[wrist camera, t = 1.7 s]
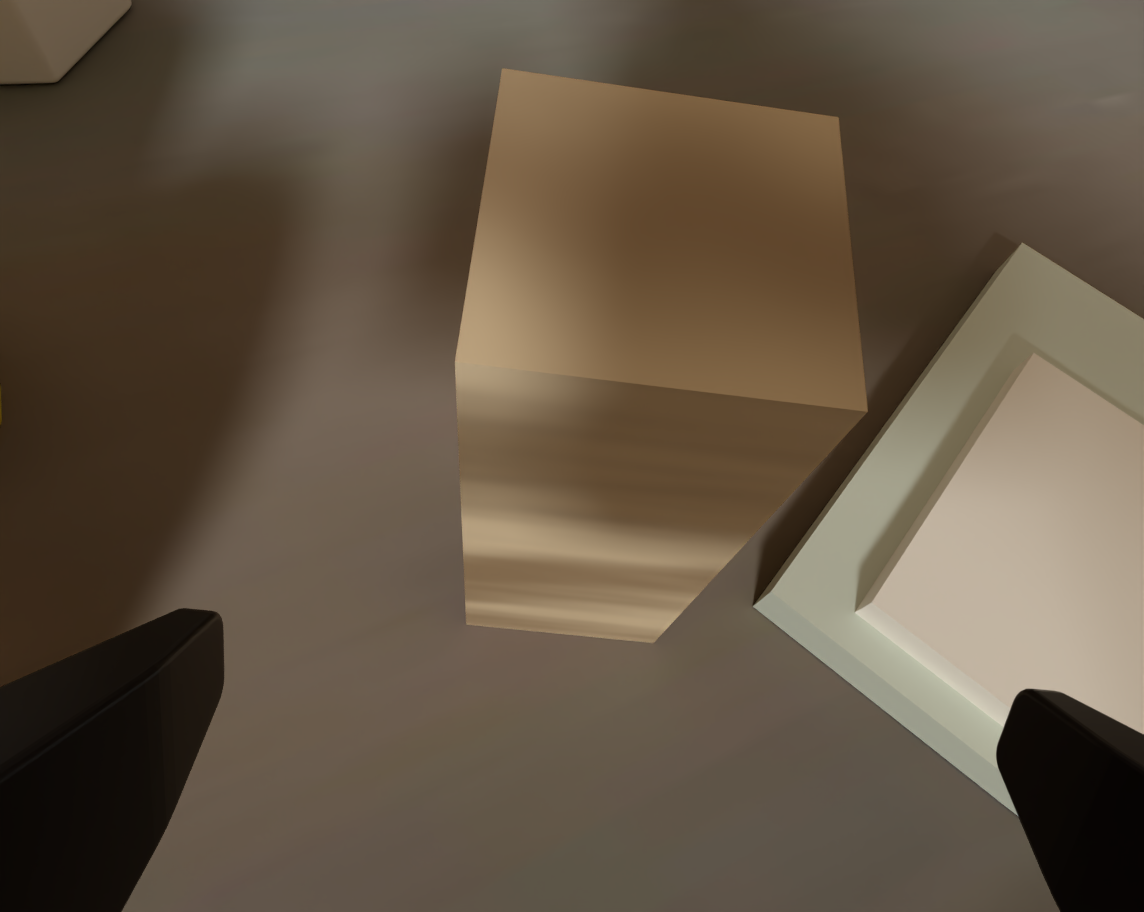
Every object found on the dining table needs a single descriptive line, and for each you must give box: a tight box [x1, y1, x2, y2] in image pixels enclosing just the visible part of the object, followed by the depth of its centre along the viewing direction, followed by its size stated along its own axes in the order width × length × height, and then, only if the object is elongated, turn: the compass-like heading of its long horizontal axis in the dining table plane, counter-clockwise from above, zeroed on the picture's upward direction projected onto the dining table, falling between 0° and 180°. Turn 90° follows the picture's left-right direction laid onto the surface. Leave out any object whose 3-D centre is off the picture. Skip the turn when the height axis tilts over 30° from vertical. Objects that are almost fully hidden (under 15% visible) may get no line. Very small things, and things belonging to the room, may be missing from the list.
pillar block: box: [455, 68, 868, 643], centre depth 16 cm, size 5×5×13 cm
